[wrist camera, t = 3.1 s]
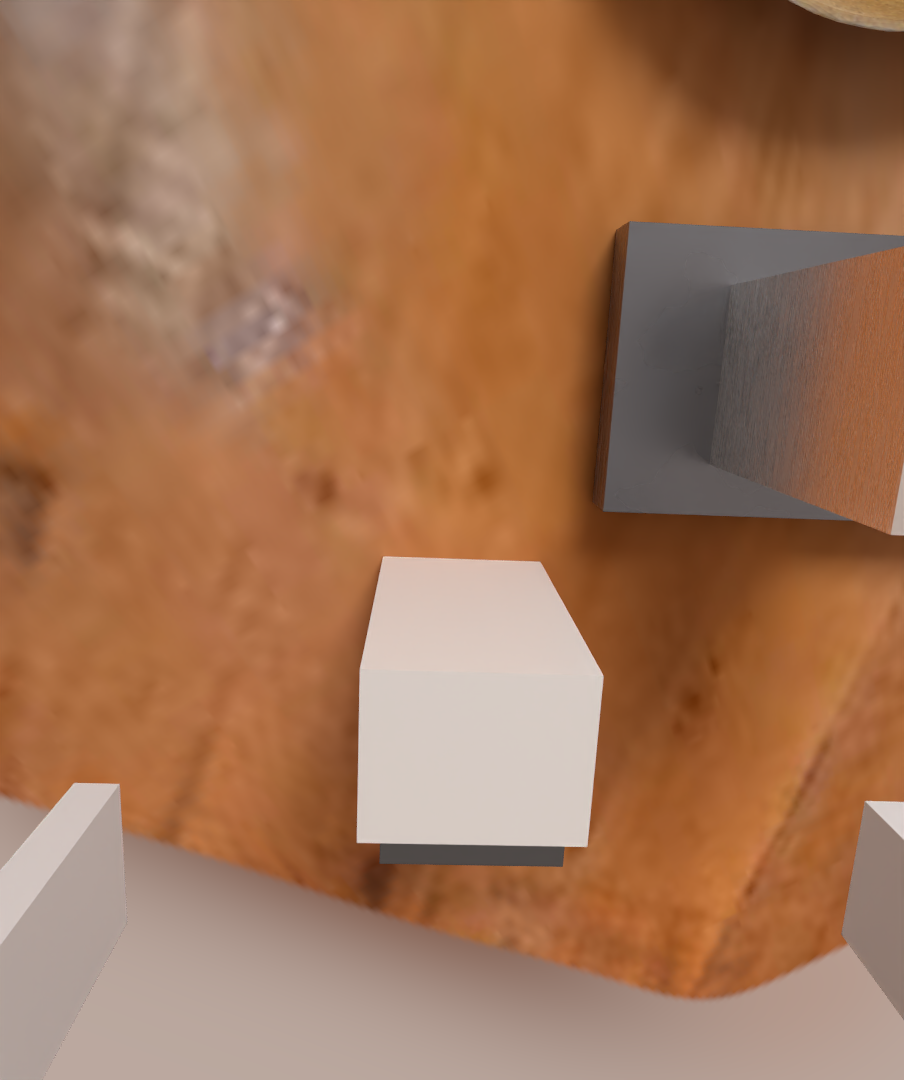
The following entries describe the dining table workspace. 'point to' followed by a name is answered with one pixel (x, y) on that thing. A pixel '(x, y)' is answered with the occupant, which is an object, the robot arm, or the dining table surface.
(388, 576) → the block
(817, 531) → the dining table surface
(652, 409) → the rail
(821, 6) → the plant saucer
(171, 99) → the dining table surface
